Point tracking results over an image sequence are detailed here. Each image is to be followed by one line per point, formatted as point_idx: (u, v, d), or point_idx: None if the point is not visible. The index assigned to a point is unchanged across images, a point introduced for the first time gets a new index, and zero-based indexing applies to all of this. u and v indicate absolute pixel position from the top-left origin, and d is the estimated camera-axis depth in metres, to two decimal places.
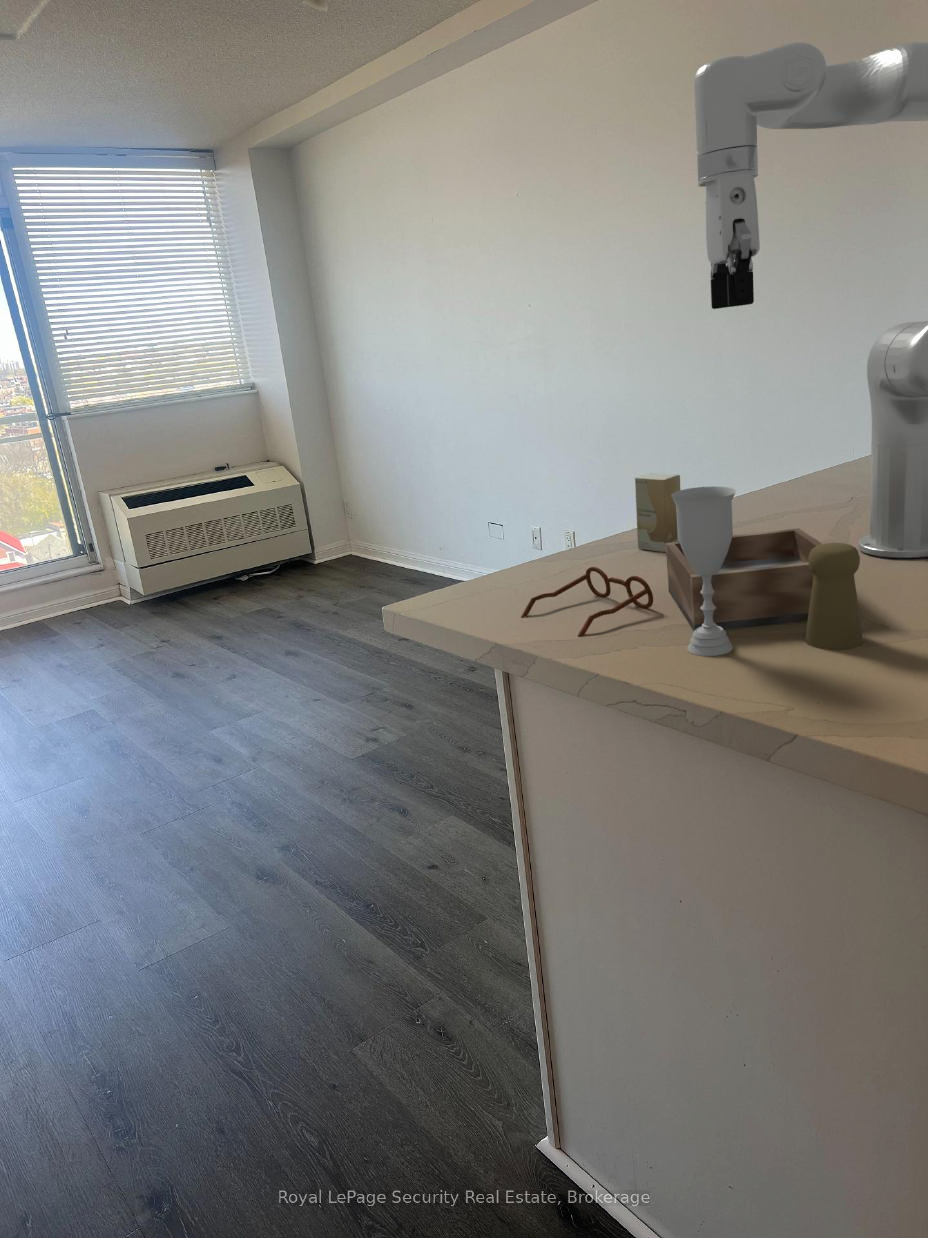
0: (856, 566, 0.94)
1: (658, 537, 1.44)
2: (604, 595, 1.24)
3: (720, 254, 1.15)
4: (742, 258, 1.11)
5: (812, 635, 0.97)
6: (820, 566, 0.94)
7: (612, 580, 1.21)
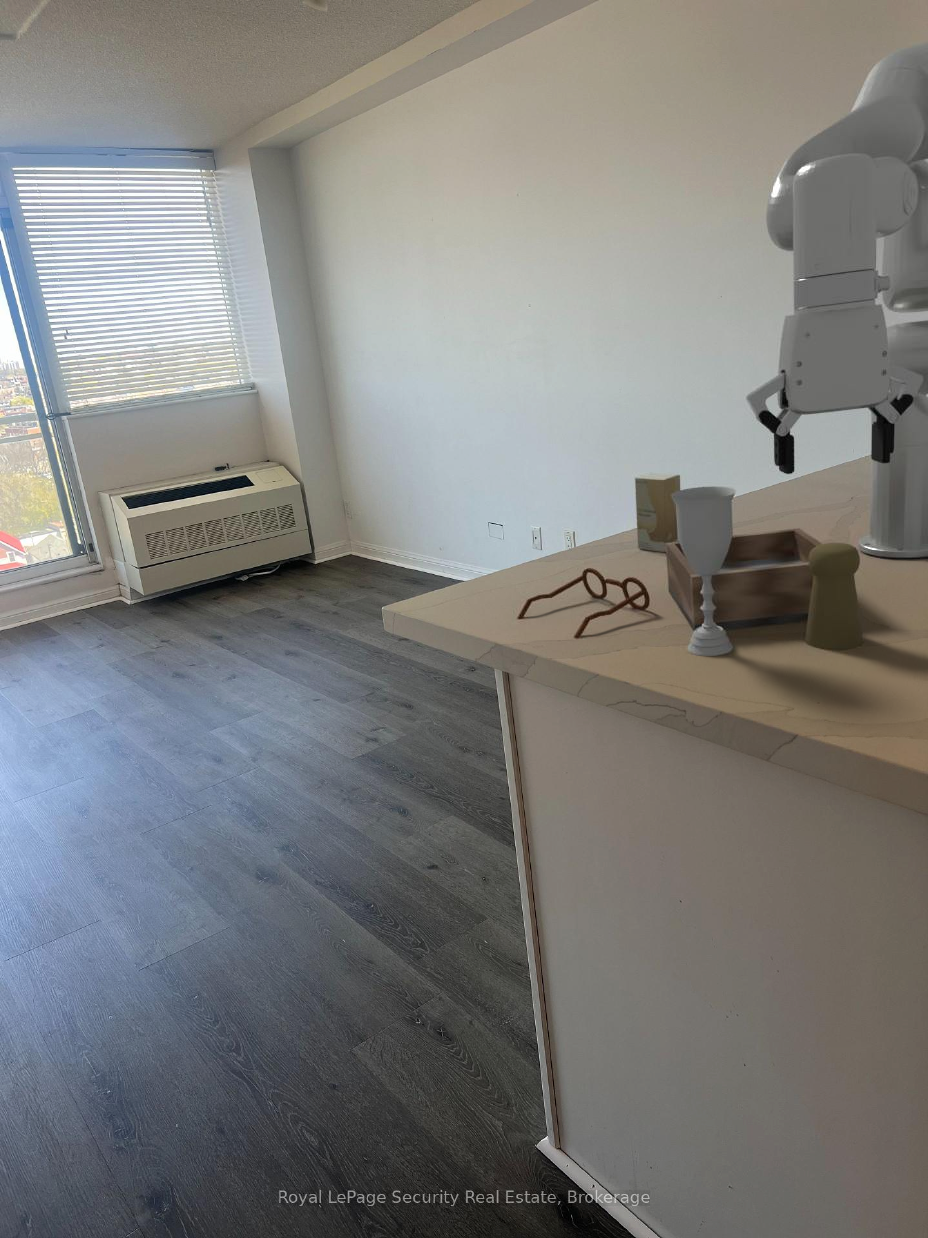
0: (856, 566, 0.94)
1: (658, 537, 1.44)
2: (600, 596, 1.24)
3: (873, 400, 0.88)
4: None
5: (812, 635, 0.97)
6: (820, 566, 0.94)
7: (608, 581, 1.20)
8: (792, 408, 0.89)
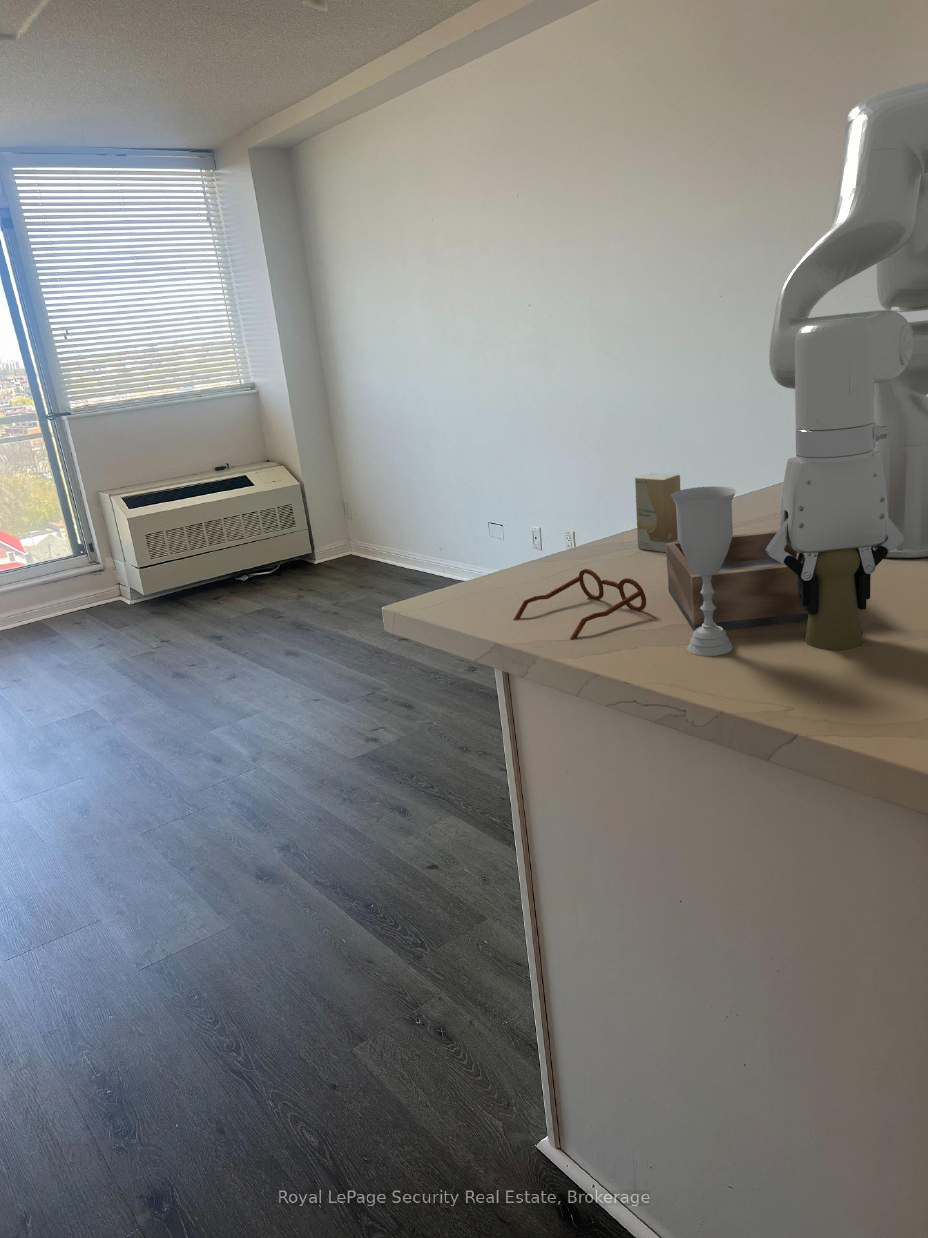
0: (856, 566, 0.94)
1: (658, 537, 1.44)
2: (597, 597, 1.23)
3: (872, 541, 0.93)
4: None
5: (813, 635, 0.97)
6: (820, 566, 0.94)
7: (605, 582, 1.20)
8: (794, 548, 0.94)
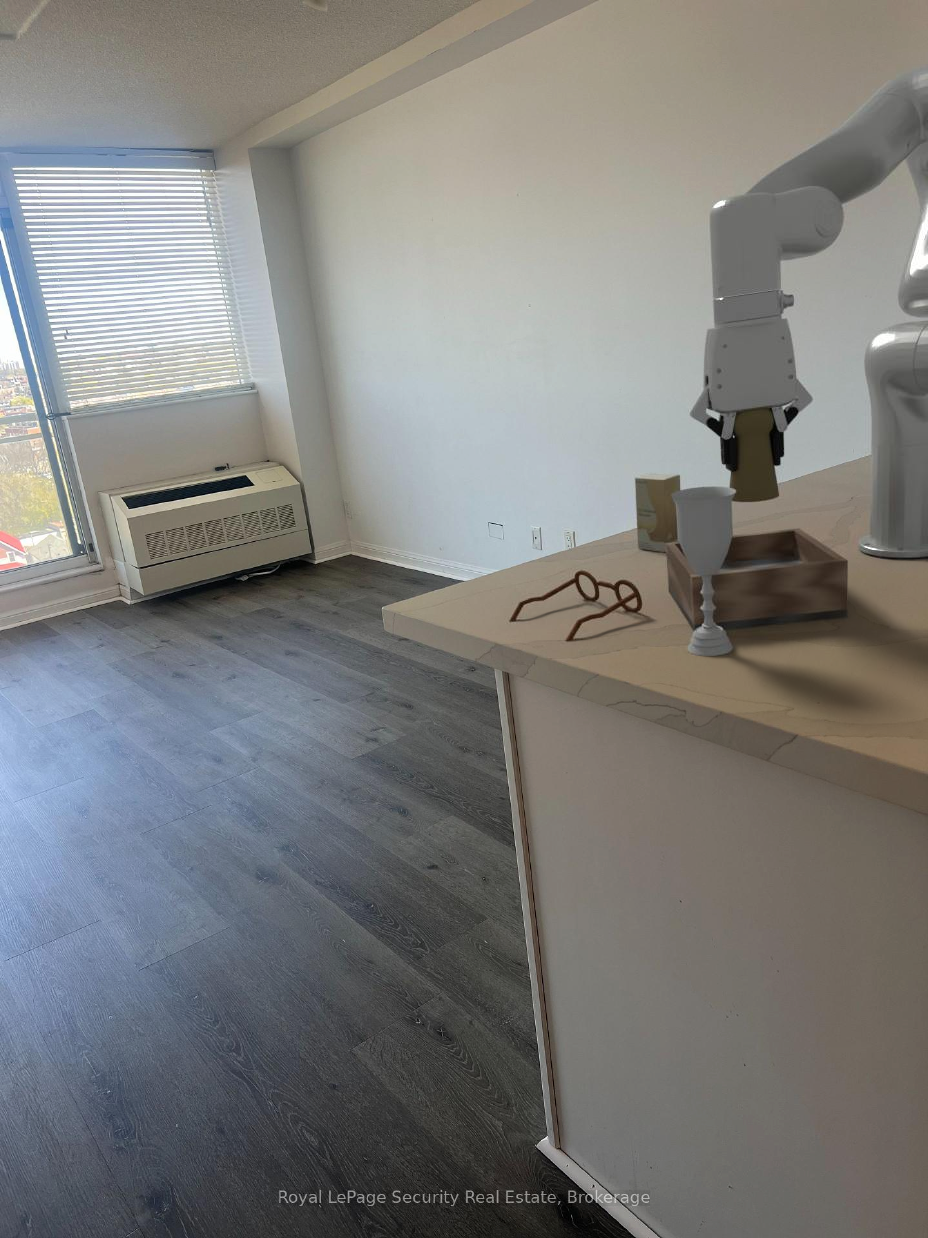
0: (770, 424, 1.04)
1: (658, 537, 1.44)
2: (593, 599, 1.23)
3: (783, 400, 1.03)
4: None
5: None
6: (738, 425, 1.05)
7: (601, 584, 1.20)
8: (714, 408, 1.04)
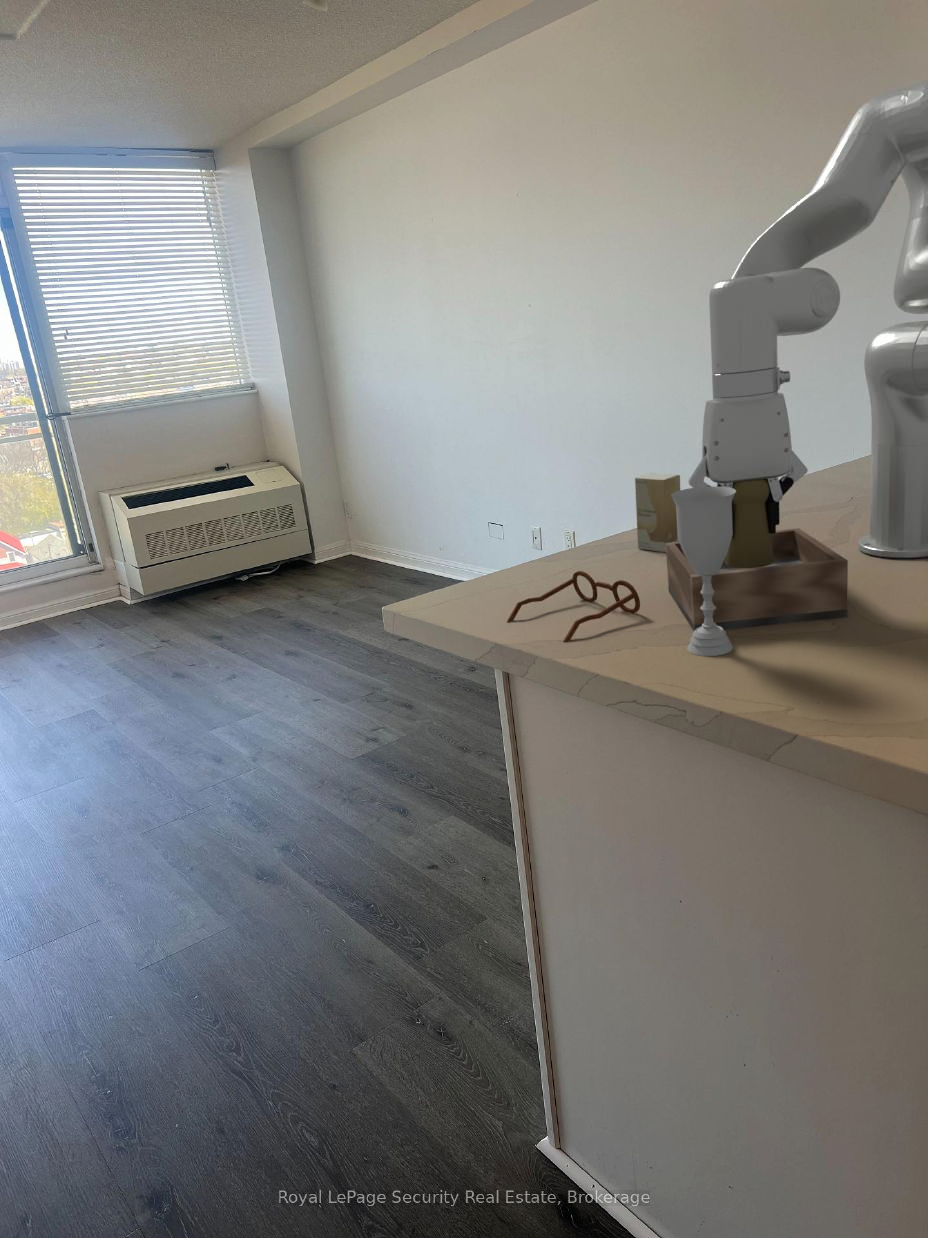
0: (766, 494, 1.08)
1: (658, 537, 1.44)
2: (591, 599, 1.23)
3: (778, 471, 1.07)
4: None
5: (730, 557, 1.11)
6: (735, 494, 1.08)
7: (599, 584, 1.20)
8: (712, 478, 1.08)
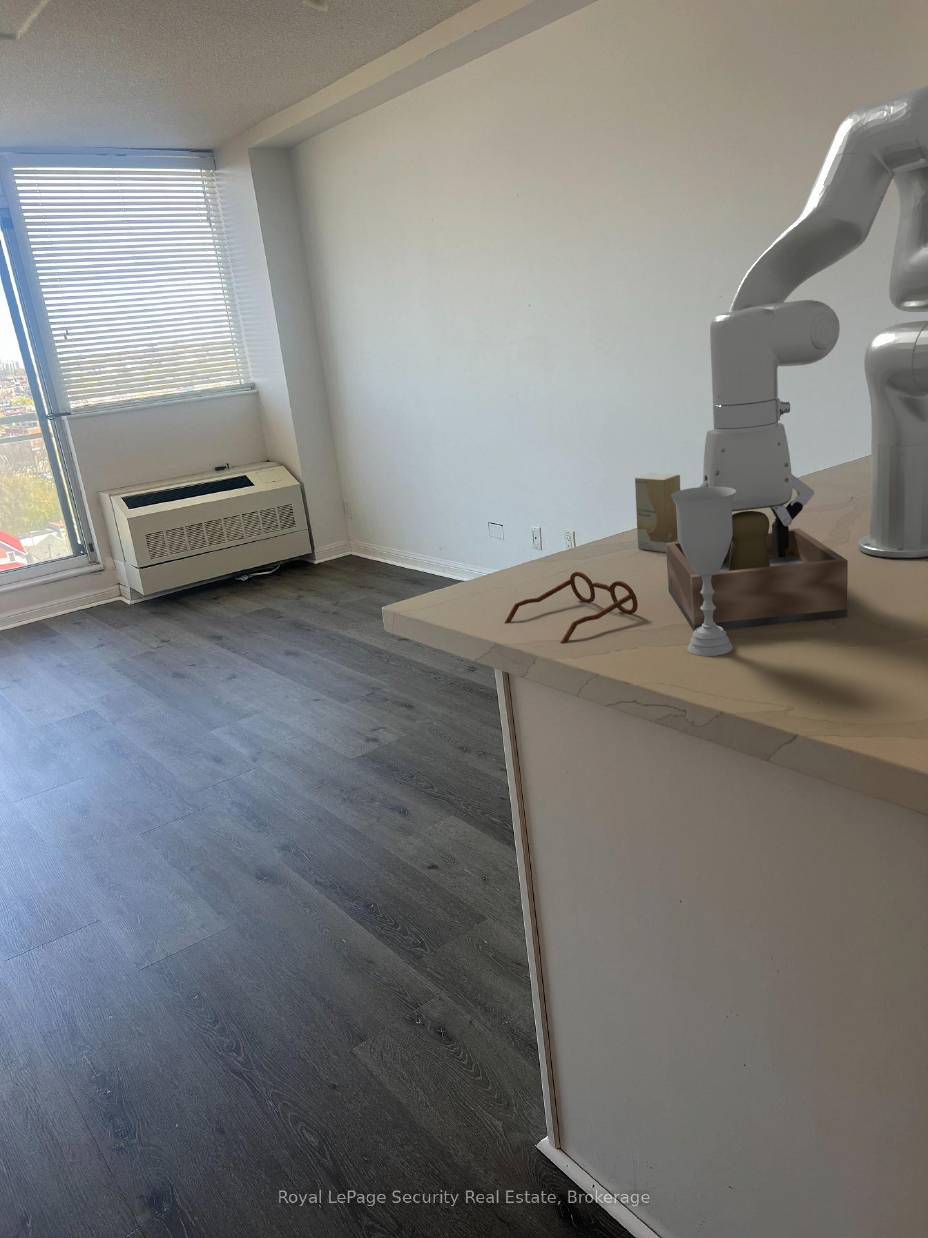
0: (765, 530, 1.09)
1: (658, 537, 1.44)
2: (589, 600, 1.23)
3: (779, 501, 1.08)
4: None
5: None
6: (735, 531, 1.10)
7: (596, 585, 1.19)
8: None
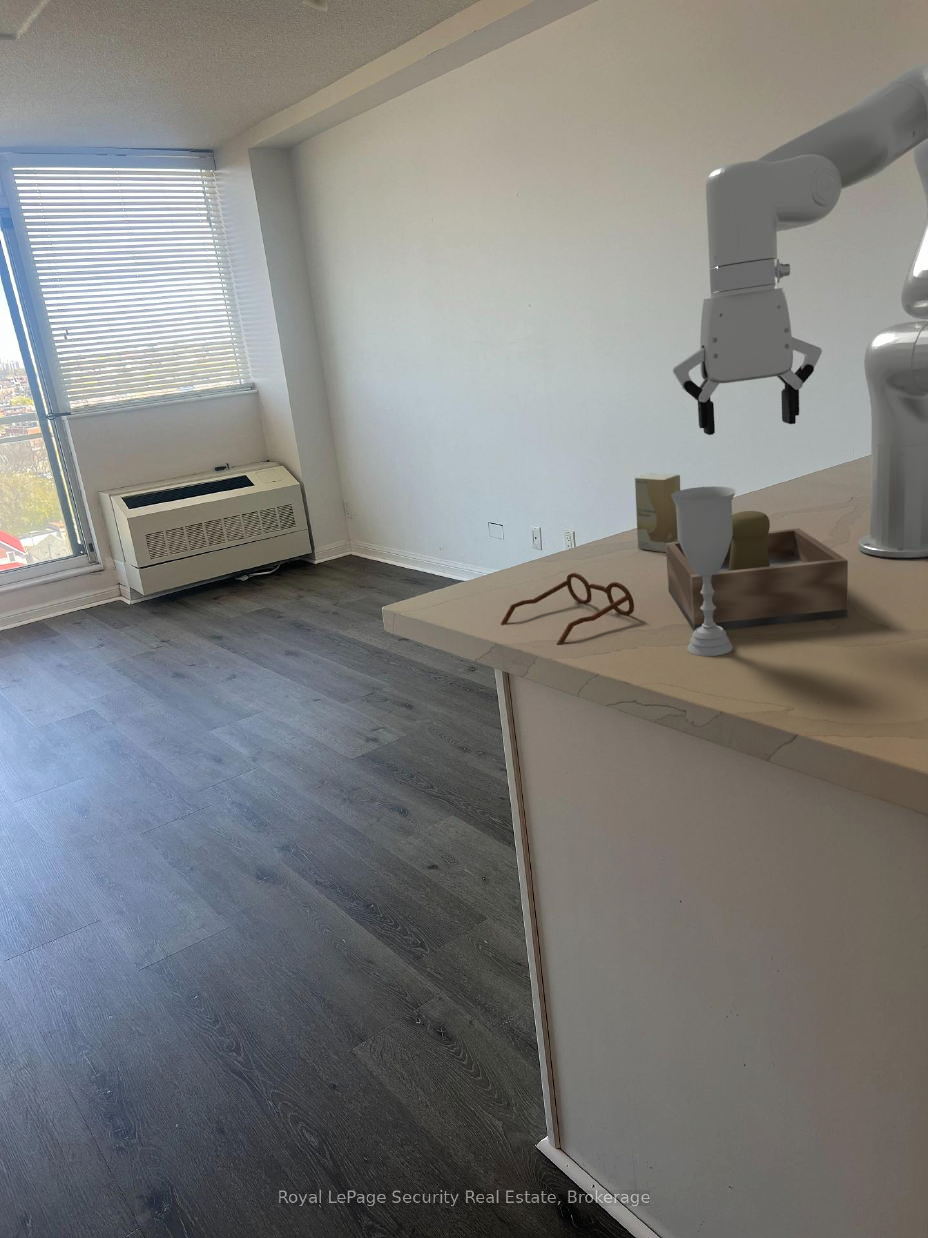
0: (766, 530, 1.09)
1: (658, 537, 1.44)
2: (585, 601, 1.22)
3: (779, 369, 1.04)
4: None
5: None
6: (735, 531, 1.09)
7: (593, 586, 1.19)
8: (711, 378, 1.05)
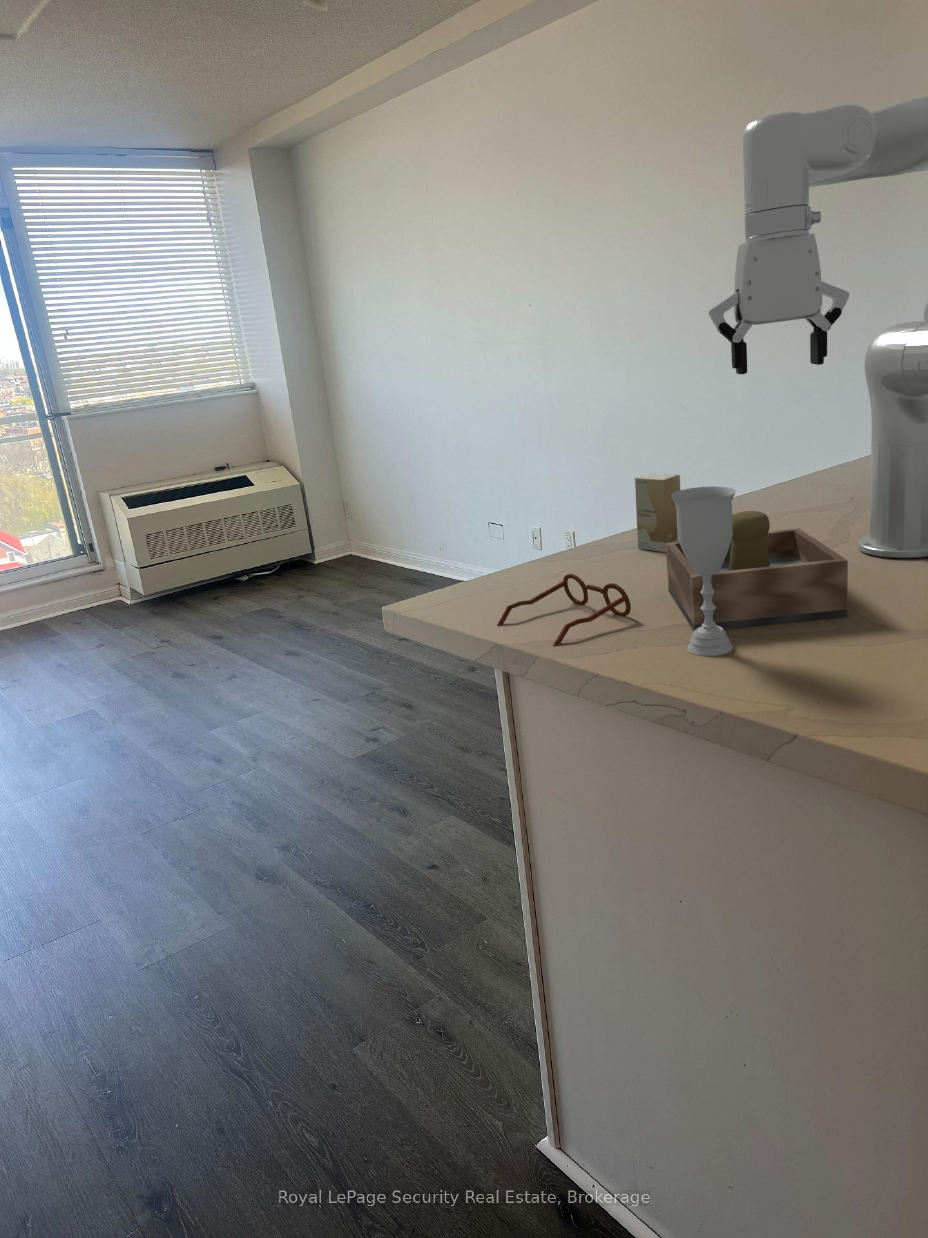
0: (766, 530, 1.09)
1: (658, 537, 1.44)
2: (582, 602, 1.22)
3: (809, 311, 1.10)
4: None
5: None
6: (735, 531, 1.10)
7: (589, 587, 1.19)
8: (744, 319, 1.11)
